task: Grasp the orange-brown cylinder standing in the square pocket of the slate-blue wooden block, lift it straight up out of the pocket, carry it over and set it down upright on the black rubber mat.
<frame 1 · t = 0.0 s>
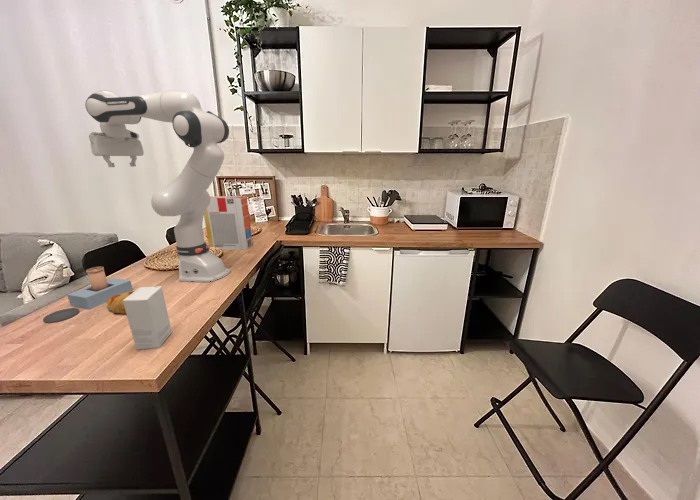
hand: (122, 166, 131), 48 cm above the countertop, fingers open, 8 cm apart
mat: (62, 316, 101), on the countertop
orange-brown cylinder: (99, 283, 112), in the pocket block
skincare box: (155, 341, 86), on the countertop
pocket block: (103, 297, 114), on the countertop
pasta box: (231, 247, 176), on the countertop
croissant: (131, 308, 106), on the countertop
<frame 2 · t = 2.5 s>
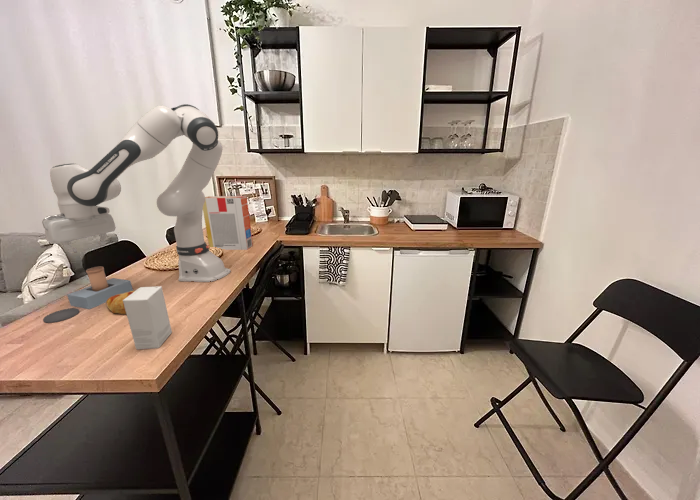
hand: (88, 249, 108), 20 cm above the countertop, fingers open, 8 cm apart
nothing on the countertop moved.
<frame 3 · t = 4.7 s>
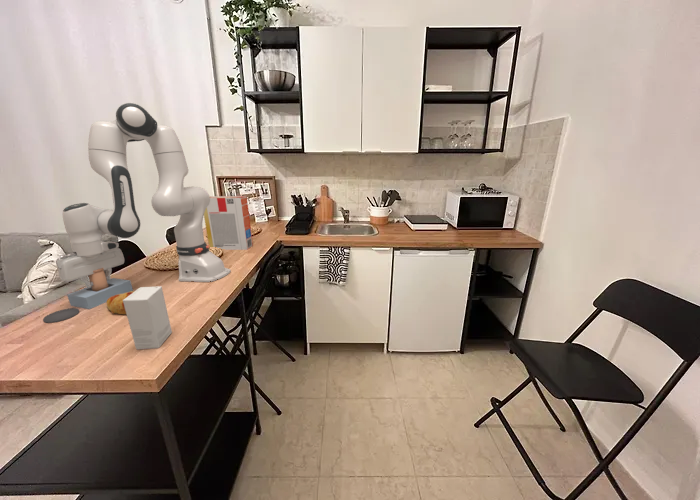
hand: (99, 283, 112), 6 cm above the countertop, fingers closed on orange-brown cylinder, 5 cm apart
orange-brown cylinder: (99, 283, 112), in the pocket block, touching gripper
everything else where it was.
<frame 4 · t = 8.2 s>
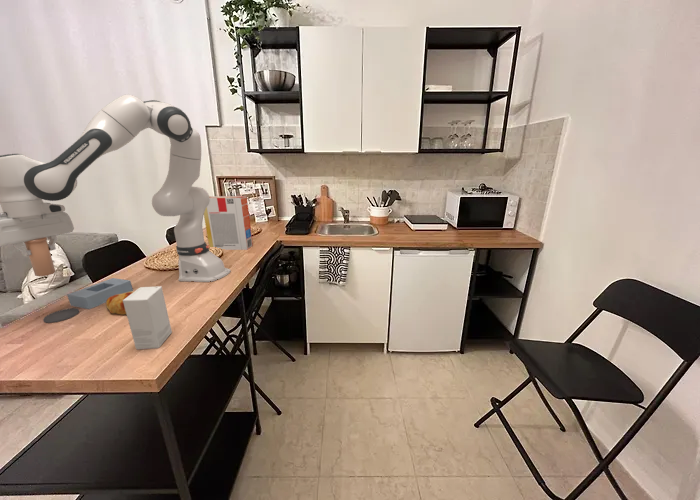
hand: (40, 252, 94), 23 cm above the countertop, fingers closed on orange-brown cylinder, 5 cm apart
orange-brown cylinder: (40, 256, 95), point 22 cm above the countertop, touching gripper
everything else where it was.
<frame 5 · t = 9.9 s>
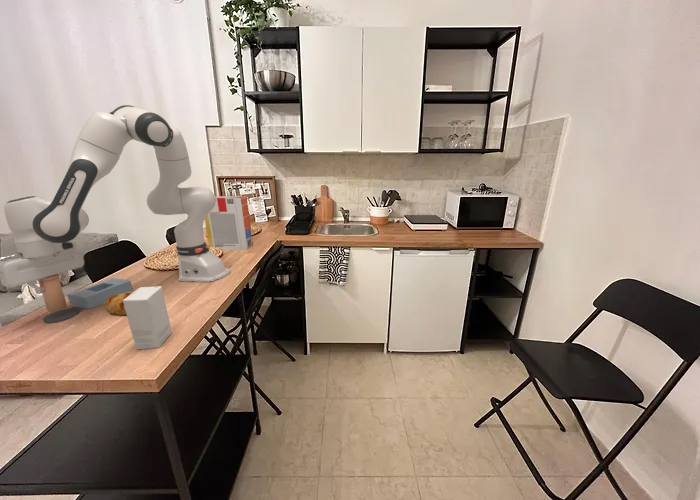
hand: (52, 288, 98), 10 cm above the countertop, fingers closed on orange-brown cylinder, 5 cm apart
orange-brown cylinder: (52, 292, 98), point 9 cm above the countertop, touching gripper
everything else where it was.
when the fingers open (8 cm above the countertop, at t = 11.2 s): orange-brown cylinder stays where it is, resting on mat.
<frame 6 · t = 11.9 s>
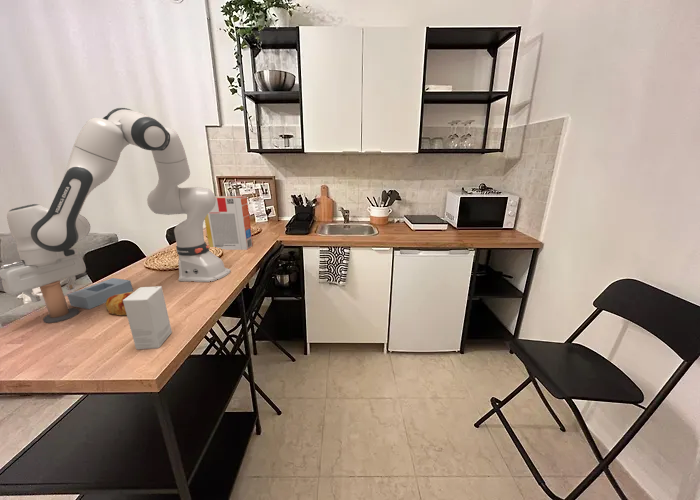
hand: (54, 295, 99), 8 cm above the countertop, fingers open, 8 cm apart
orange-brown cylinder: (54, 298, 99), on the mat, point 7 cm above the countertop
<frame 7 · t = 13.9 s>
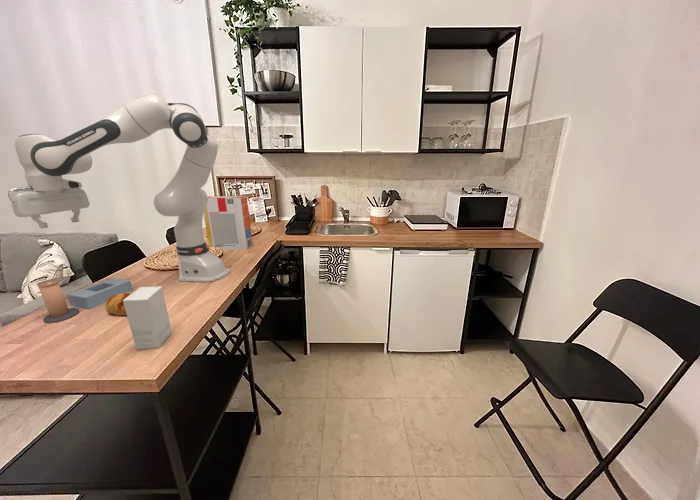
hand: (60, 224, 105), 29 cm above the countertop, fingers open, 8 cm apart
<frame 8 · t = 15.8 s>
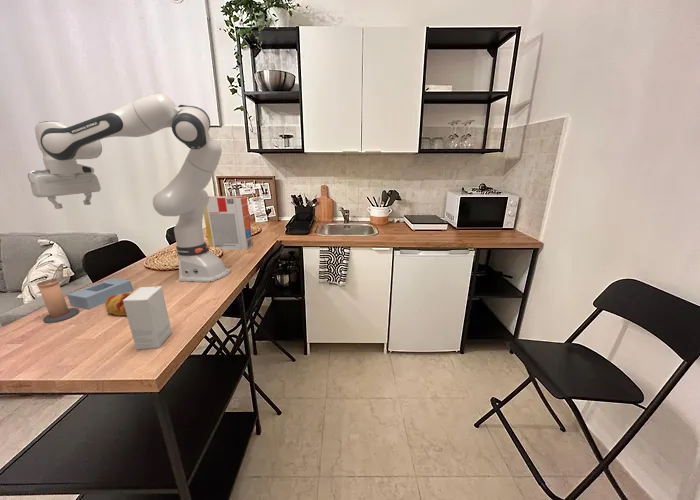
hand: (73, 206, 113), 34 cm above the countertop, fingers open, 8 cm apart
at the end: orange-brown cylinder inside the target area on the mat (0.7 cm from its centre), point 6.6 cm above the mat's base; orange-brown cylinder tilted 1°; the gripper is holding nothing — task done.
